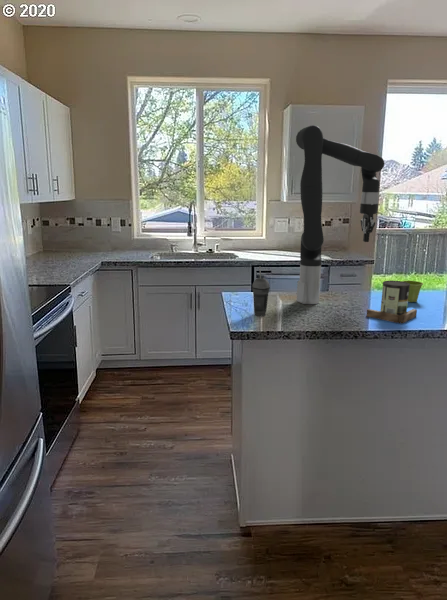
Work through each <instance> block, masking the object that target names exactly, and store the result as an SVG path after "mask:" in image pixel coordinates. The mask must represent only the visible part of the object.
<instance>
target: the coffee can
mask: <svg viewBox="0 0 447 600" xmlns="http://www.w3.org/2000/svg"><path fill="white" fill-rule="evenodd" d="M403 281H404V280H402V281H400V280H384V281H382V289H381V290H382V291H381V301H380V310H379V311H381V312H386V313H391V314H396V315H402V314H404V313H406V312H408V305H409V304H408V295H409V286H410V284H409V283H407V282H403Z"/></svg>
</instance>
